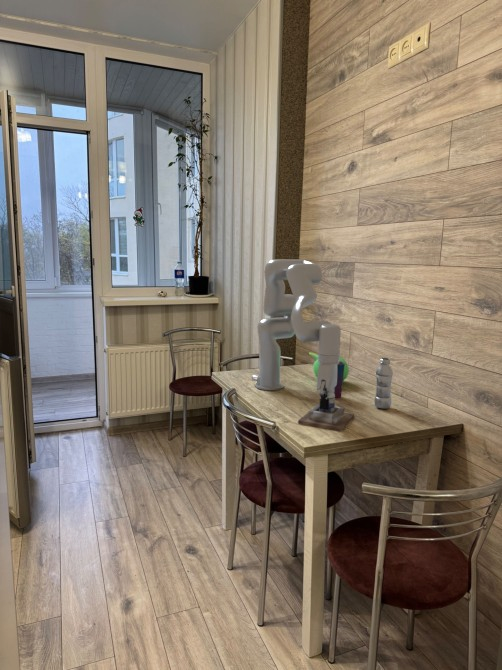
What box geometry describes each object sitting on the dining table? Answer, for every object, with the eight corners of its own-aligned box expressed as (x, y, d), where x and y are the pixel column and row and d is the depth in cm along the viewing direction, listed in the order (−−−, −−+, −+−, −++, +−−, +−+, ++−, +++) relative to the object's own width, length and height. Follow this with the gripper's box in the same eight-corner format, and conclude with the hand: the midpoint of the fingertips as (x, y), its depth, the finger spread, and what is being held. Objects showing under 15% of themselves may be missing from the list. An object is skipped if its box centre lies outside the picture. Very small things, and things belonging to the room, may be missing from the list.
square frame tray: (298, 423, 170) (298, 412, 169) (313, 410, 184) (313, 400, 183) (341, 431, 163) (341, 419, 162) (354, 417, 177) (354, 406, 176)
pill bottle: (317, 410, 176) (318, 385, 174) (332, 410, 176) (333, 385, 174) (321, 415, 170) (322, 389, 169) (335, 415, 171) (336, 389, 169)
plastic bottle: (382, 411, 183) (385, 361, 180) (370, 406, 189) (372, 357, 186) (394, 409, 186) (397, 359, 183) (382, 404, 192) (385, 356, 189)
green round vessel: (354, 387, 216) (355, 356, 213) (319, 389, 212) (320, 357, 209) (337, 377, 233) (338, 348, 230) (305, 379, 229) (306, 349, 226)
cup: (343, 399, 198) (344, 364, 195) (326, 398, 199) (327, 364, 196) (343, 395, 204) (344, 361, 202) (327, 394, 206) (328, 360, 203)
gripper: (326, 352, 179) (324, 398, 182) (310, 362, 164) (308, 412, 167) (345, 355, 175) (343, 401, 179) (331, 364, 160) (329, 415, 164)
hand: (326, 406), depth 173 cm, fingers closed on pill bottle, 5 cm apart
